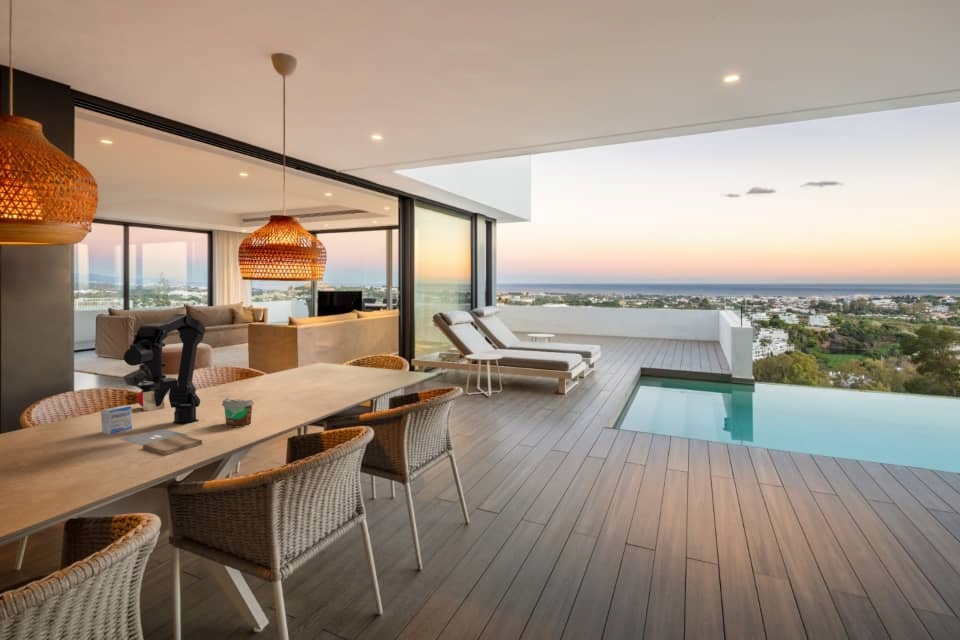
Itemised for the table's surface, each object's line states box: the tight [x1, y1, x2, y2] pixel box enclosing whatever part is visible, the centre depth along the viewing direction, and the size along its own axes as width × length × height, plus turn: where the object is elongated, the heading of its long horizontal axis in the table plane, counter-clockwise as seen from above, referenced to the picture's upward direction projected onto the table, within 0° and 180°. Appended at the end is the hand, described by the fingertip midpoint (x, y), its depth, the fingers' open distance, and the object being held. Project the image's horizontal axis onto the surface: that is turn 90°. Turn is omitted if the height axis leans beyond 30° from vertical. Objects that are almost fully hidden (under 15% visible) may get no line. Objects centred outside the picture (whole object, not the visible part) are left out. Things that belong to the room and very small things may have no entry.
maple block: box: [142, 391, 166, 412], centre depth 168 cm, size 4×4×6 cm
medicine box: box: [100, 404, 133, 435], centre depth 175 cm, size 8×4×9 cm, turn 161°
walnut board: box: [142, 435, 203, 456], centre depth 160 cm, size 12×12×2 cm
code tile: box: [120, 428, 189, 446], centre depth 169 cm, size 14×16×1 cm
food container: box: [221, 396, 255, 428], centre depth 185 cm, size 12×6×10 cm, turn 76°
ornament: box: [137, 390, 143, 408], centre depth 207 cm, size 9×9×10 cm
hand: (153, 405), depth 168 cm, fingers closed on maple block, 4 cm apart
